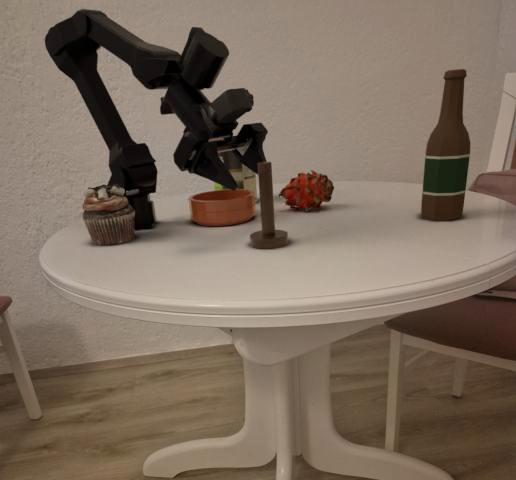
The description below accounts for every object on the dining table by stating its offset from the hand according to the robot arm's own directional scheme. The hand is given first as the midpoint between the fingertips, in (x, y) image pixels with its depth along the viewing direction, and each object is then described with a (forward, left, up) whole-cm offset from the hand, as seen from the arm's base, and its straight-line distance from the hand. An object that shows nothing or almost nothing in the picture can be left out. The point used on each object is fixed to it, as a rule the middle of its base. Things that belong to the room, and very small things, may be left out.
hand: (254, 183), depth 79 cm
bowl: (-6, +20, -10) cm, 23 cm away
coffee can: (-3, +39, -10) cm, 40 cm away
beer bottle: (+35, +8, -10) cm, 37 cm away
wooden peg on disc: (+2, -2, -10) cm, 10 cm away
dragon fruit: (+12, +23, -10) cm, 28 cm away
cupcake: (-27, +10, -10) cm, 31 cm away
